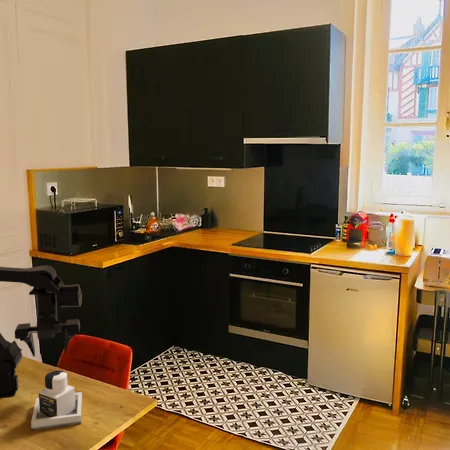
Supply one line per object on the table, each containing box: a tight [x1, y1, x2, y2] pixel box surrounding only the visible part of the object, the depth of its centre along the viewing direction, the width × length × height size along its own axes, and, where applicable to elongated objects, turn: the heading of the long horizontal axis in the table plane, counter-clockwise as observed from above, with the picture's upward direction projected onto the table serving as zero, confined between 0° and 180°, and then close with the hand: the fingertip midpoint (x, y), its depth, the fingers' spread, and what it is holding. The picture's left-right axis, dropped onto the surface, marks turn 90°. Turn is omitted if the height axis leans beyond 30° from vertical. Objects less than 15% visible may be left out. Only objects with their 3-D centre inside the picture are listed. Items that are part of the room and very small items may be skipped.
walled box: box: [30, 391, 83, 431], centre depth 140 cm, size 13×13×2 cm
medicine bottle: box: [38, 370, 76, 418], centre depth 139 cm, size 7×7×12 cm
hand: (49, 354), depth 151 cm, fingers open, 9 cm apart
